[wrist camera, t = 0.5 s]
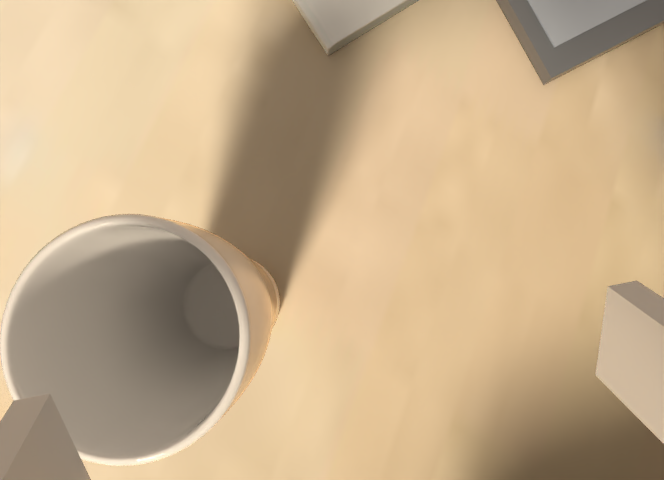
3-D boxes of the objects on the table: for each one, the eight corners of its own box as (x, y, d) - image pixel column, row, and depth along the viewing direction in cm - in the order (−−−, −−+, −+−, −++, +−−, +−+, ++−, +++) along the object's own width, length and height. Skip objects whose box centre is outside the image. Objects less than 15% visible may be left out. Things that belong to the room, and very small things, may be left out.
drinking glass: (150, 302, 28) (-62, 340, 13) (234, 219, 28) (126, 157, 13) (233, 387, 27) (119, 528, 12) (318, 301, 28) (306, 336, 13)
